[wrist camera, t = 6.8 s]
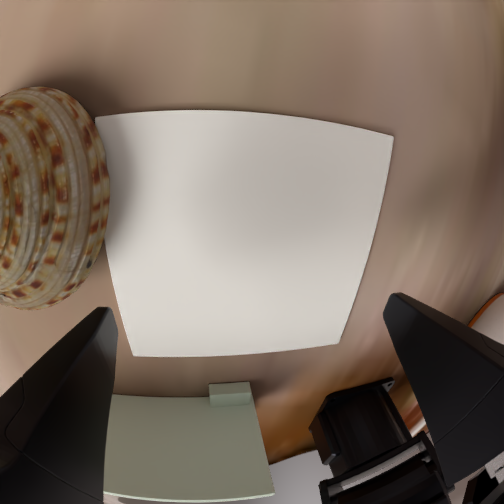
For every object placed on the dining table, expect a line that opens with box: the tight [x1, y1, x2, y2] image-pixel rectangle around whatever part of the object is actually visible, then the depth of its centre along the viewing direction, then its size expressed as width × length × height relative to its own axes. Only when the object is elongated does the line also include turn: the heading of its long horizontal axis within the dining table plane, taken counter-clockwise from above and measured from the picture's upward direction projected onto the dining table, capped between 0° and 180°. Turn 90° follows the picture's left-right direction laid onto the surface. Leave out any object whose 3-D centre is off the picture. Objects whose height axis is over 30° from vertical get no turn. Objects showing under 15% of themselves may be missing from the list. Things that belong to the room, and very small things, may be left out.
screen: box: [103, 382, 275, 502], centre depth 12 cm, size 14×4×7 cm, turn 86°
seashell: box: [0, 87, 110, 310], centre depth 7 cm, size 8×6×8 cm
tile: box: [95, 110, 394, 357], centre depth 11 cm, size 11×11×1 cm
